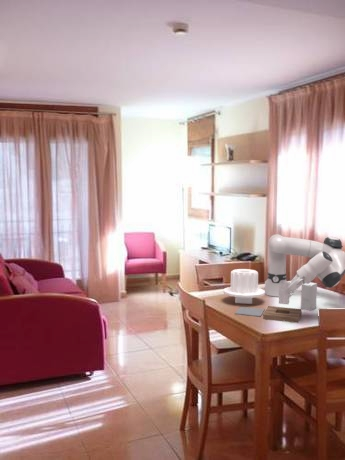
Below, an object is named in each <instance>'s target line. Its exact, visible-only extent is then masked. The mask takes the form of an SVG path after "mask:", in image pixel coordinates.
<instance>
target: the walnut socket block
mask: <svg viewBox="0 0 345 460" xmlns="http://www.w3.org/2000/svg"><path fill="white" fill-rule="evenodd" d="M262 315H263V316H262V319H263V320H270V321H280V322H289V323H297V324H299V321H300V319H301V315H302V309H301V308H296V307H294V308H293V307H283V306H272V305H268V306H267V307H266V309H265V310H264V312H263V314H262Z"/></svg>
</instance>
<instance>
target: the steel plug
mask: <svg viewBox="0 0 345 460" xmlns="http://www.w3.org/2000/svg"><path fill="white" fill-rule="evenodd" d="M290 282H291V281H287V282H282V281H280V283H279V297H278V304H279V305H280V304H282V305H289V303H290V297H291V296H290V292H291V291H290V292H289V293H287V294H286V295H285V294H284V293H283V292H284V291H285V290H286V289H287V288H288V286H289V284H290Z"/></svg>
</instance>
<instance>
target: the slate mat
mask: <svg viewBox="0 0 345 460" xmlns="http://www.w3.org/2000/svg"><path fill="white" fill-rule="evenodd" d="M265 311H266V309H264V308H256V307H247V306H246V307H245V306H240V307H239V308H238V309H237V310H236V311H235V312H234V315H240V316H248V317H257V318H258V317H259V318H260V317H262V315H263V314H264V312H265Z"/></svg>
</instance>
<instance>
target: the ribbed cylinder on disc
mask: <svg viewBox="0 0 345 460" xmlns="http://www.w3.org/2000/svg"><path fill="white" fill-rule="evenodd" d="M264 290H265V289H262V288H261V287H259V272H258V271H257V270H255V269H249V268H237V269H232V270H231V271H230V286H227V287H224V289H223V294H225V295H226V296H230V297H234V300H235V301H234V302H235V304H245V305H246V304H247V305H253V298H259V297H263V296H265V295H266V294H265V291H264Z"/></svg>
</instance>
